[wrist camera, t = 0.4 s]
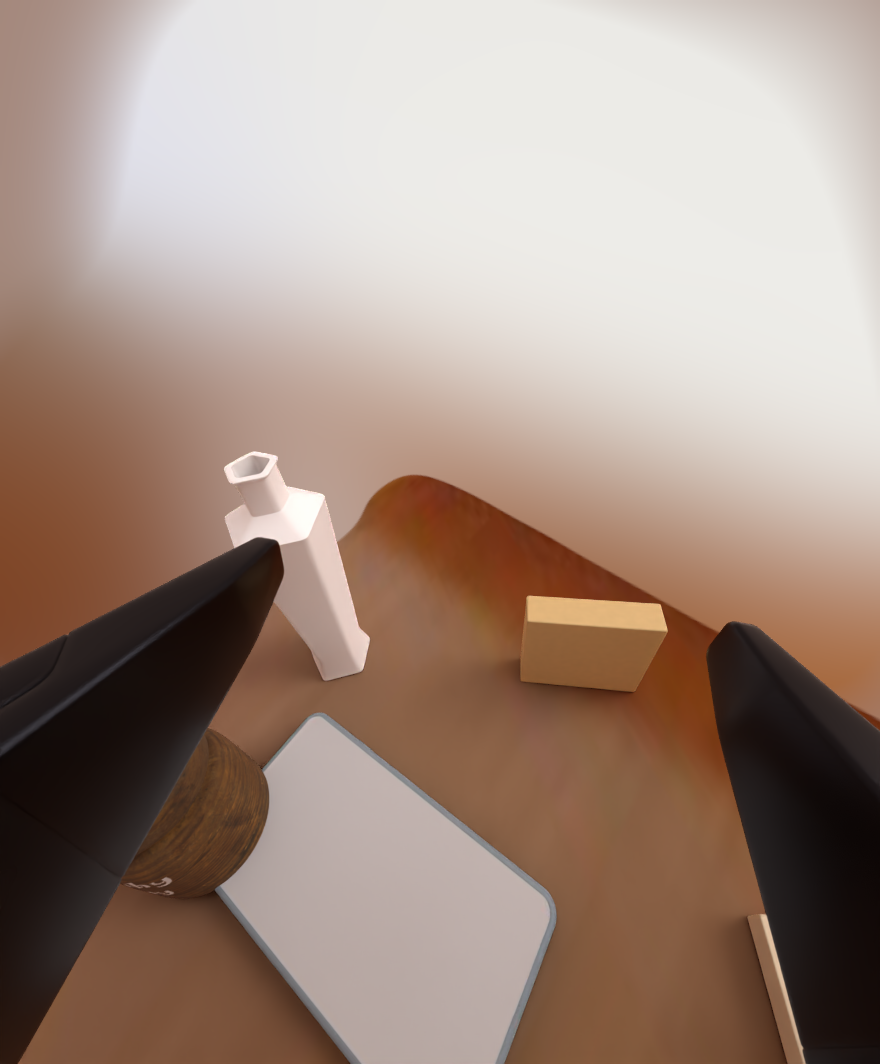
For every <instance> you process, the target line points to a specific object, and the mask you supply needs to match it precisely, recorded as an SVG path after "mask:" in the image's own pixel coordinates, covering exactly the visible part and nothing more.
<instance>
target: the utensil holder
mask: <svg viewBox="0 0 880 1064" xmlns="http://www.w3.org/2000/svg"><path fill="white" fill-rule="evenodd" d="M268 810H269V788H268V783H267V780H266V777H265V775H264V773H263V771H262V770H261V768H260V767H259V766H258V765H257V764H256V763H255V762H254V761H253V760H252V759H251V758H250V757H249V756H248V755H247V754H245V753H244V752H243V751H242V750H241V749H239V748H238V747H237V746H236V745H235V744H233V743H232V742H231V741H230V740H228V739H227V738H226V737H224V736H223V735H221V734H220V733H218V732H216V731H214V730H212V729H209V728H207V730H206V732H205V733H204V735H203V737H202V739H201V740H200V742H199V744H198V746H197V747H196V749H195V751H194V753H193V755H192V756H191V758H190V760H189V762H188V763H187V765H186V767H185V769H184V770H183V772H182V774H181V776H180V778H179V779H178V781H177V783H176V785H175V786H174V788H173V790H172V792H171V793H170V795H169V797H168V799H167V801H166V802H165V804H164V806H163V808H162V809H161V811H160V813H159V815H158V816H157V818H156V820H155V822H154V824H153V825H152V827H151V829H150V831H149V832H148V834H147V836H146V838H145V839H144V841H143V843H142V845H141V847H140V848H139V850H138V852H137V854H136V855H135V857H134V859H133V861H132V862H131V864H130V866H129V868H128V869H127V871H126V873H125V875H124V876H123V877H122V878H121V883H120V884H123V885H125V886H128V887H131V888H135V889H138V890H142V891H145V892H149V893H153V894H156V895H160V896H165V897H170V898H178V899H185V898H195V897H199V896H202V895H205V894H208V893H210V892H212V891H214V890H215V889H216V888H217V887H218V886H220V885H221V884H223V883H224V882H226V881H227V880H228V879H229V878H230V877H231V876H233V875H234V874H235V873H236V872H237V871H238V870H239V869H240V867H241V866H242V865H243V864H244V863H245V861H246V860H247V859H248V858H249V856H250V855H251V853H252V852H253V850H254V848H255V847H256V845H257V843H258V841H259V839H260V837H261V835H262V832H263V830H264V827H265V824H266V820H267V816H268Z"/></svg>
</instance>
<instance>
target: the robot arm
mask: <svg viewBox="0 0 880 1064" xmlns="http://www.w3.org/2000/svg"><path fill="white" fill-rule="evenodd" d="M283 576H284V565H283V560H282V555H281V550H280V545H279V543H278V541H276V540H274V539H269V538H263V537H256V538H254V539H252V540H250V541H248V542H246V543H244V544H242V545H240V546H238V547H236V548H234V549H232V550H230V551H228V552H226V553H224V554H222V555H220V556H218V557H216V558H214V559H213V560H210V561H208V562H207V563H205V564H203V565H201V566H199V567H197V568H195V569H193V570H191V571H189V572H187V573H185V574H183V575H181V576H179V577H177V578H175V579H173V580H171V581H169V582H168V583H165V584H164V585H161V586H159V587H157V588H155V589H153V590H151V591H150V592H148V593H146V594H144V595H142V596H140V597H138V598H136V599H134V600H132V601H130V602H128V603H126V604H124V605H122V606H120V607H118V608H117V609H114V610H112V611H111V612H108V613H106V614H104V615H102V616H100V617H98V618H97V619H95V620H93V621H91V622H89V623H87V624H85V625H83V626H81V627H79V628H77V629H75V630H73V631H71V632H70V633H69V635H63V636H61V637H59V638H57V639H55V640H53V641H51V642H49V643H47V644H46V645H43V646H41V647H39V648H37V649H35V650H33V651H31V652H29V653H27V654H25V655H23V656H21V657H19V658H17V659H15V660H13V661H11V662H9V663H7V664H5V665H3V666H1V667H0V1064H18V1062H19V1061H20V1059H21V1057H22V1056H23V1054H24V1052H25V1051H26V1049H27V1047H28V1045H29V1043H30V1042H31V1040H32V1038H33V1036H34V1035H35V1033H36V1031H37V1029H38V1028H39V1026H40V1024H41V1022H42V1020H43V1019H44V1017H45V1015H46V1013H47V1012H48V1010H49V1008H50V1006H51V1005H52V1003H53V1001H54V999H55V997H56V996H57V994H58V992H59V990H60V989H61V987H62V985H63V983H64V982H65V980H66V978H67V976H68V974H69V973H70V971H71V969H72V967H73V966H74V964H75V962H76V960H77V959H78V957H79V955H80V953H81V951H82V950H83V948H84V946H85V944H86V943H87V941H88V939H89V937H90V936H91V934H92V932H93V930H94V929H95V927H96V925H97V923H98V921H99V920H100V918H101V916H102V914H103V913H104V911H105V909H106V907H107V906H108V904H109V902H110V900H111V898H112V897H113V895H114V893H115V891H116V890H117V888H118V886H119V884H120V883H121V878H122V877H123V876H124V875H125V873H126V871H127V869H128V868H129V866H130V864H131V862H132V861H133V859H134V857H135V855H136V854H137V852H138V850H139V848H140V847H141V845H142V843H143V841H144V839H145V838H146V836H147V834H148V832H149V831H150V829H151V827H152V825H153V824H154V822H155V820H156V818H157V816H158V815H159V813H160V811H161V809H162V808H163V806H164V804H165V802H166V801H167V799H168V797H169V795H170V793H171V792H172V790H173V788H174V786H175V785H176V783H177V781H178V779H179V778H180V776H181V774H182V772H183V770H184V769H185V767H186V765H187V763H188V762H189V760H190V758H191V756H192V755H193V753H194V751H195V749H196V747H197V746H198V744H199V742H200V740H201V739H202V737H203V735H204V733H205V732H206V730H207V728H208V726H209V724H210V723H211V721H212V719H213V717H214V716H215V714H216V712H217V710H218V709H219V707H220V705H221V703H222V701H223V700H224V698H225V696H226V694H227V693H228V691H229V689H230V687H231V686H232V684H233V682H234V680H235V678H236V677H237V675H238V673H239V671H240V670H241V668H242V666H243V664H244V663H245V661H246V659H247V657H248V655H249V654H250V652H251V650H252V648H253V646H254V644H255V642H256V640H257V638H258V636H259V634H260V632H261V629H262V627H263V625H264V622H265V620H266V618H267V615H268V613H269V610H270V608H271V606H272V603H273V601H274V599H275V596H276V594H277V592H278V589H279V587H280V585H281V582H282V580H283ZM707 665H708V672H709V679H710V685H711V692H712V698H713V705H714V712H715V718H716V724H717V730H718V735H719V739H720V743H721V747H722V751H723V755H724V758H725V762H726V766H727V770H728V773H729V777H730V781H731V785H732V788H733V792H734V796H735V800H736V803H737V807H738V811H739V815H740V818H741V822H742V826H743V830H744V833H745V837H746V841H747V845H748V848H749V852H750V856H751V860H752V863H753V867H754V871H755V875H756V878H757V882H758V886H759V890H760V893H761V897H762V901H763V905H764V908H765V912H766V916H767V920H768V923H769V927H770V931H771V934H772V938H773V942H774V946H775V949H776V953H777V957H778V961H779V964H780V968H781V972H782V976H783V979H784V983H785V987H786V991H787V994H788V998H789V1002H790V1006H791V1009H792V1013H793V1017H794V1021H795V1024H796V1028H797V1032H798V1036H799V1039H800V1043H801V1045H802V1047H803V1049H802V1052H803V1056H804V1060H805V1063H806V1064H880V731H879V730H878V729H877V728H876V727H874V726H873V725H872V724H871V723H870V722H869V721H867V720H866V719H865V718H864V717H863V716H862V715H860V714H859V713H858V712H857V711H856V710H854V709H853V708H852V707H851V706H850V705H849V704H847V703H846V702H845V701H844V700H843V699H842V698H840V697H839V696H838V695H837V694H835V693H834V692H833V691H832V690H831V689H830V688H828V687H827V686H826V685H825V684H824V683H823V682H822V681H820V680H819V679H818V678H817V677H816V676H815V675H813V674H812V673H811V672H810V671H809V670H808V669H806V668H805V667H804V666H803V665H802V664H800V663H799V662H798V661H797V660H796V659H795V658H793V657H792V656H791V655H790V654H789V653H788V652H786V651H785V650H784V649H783V648H782V647H781V646H779V645H778V644H777V643H776V642H775V641H773V640H772V639H771V638H770V637H769V636H768V635H766V634H765V633H764V632H763V631H762V630H761V629H759V628H758V627H757V626H754V625H752V624H746V623H741V622H730V623H727V624H726V625H725V626H724V628H723V629H722V630H721V632H720V633H719V634H718V635H717V637H716V638H715V639H714V640H713V642H712V643H711V644H710V646H709V647H708V650H707Z"/></svg>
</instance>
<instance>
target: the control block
mask: <svg viewBox="0 0 880 1064" xmlns="http://www.w3.org/2000/svg"><path fill="white" fill-rule="evenodd" d="M747 918H748V921H749V925H750V929H751V932H752V936H753V939H754V943H755V947H756V950H757V954H758V958H759V961H760V965H761V969H762V972H763V976H764V979H765V983H766V987H767V990H768V994H769V998H770V1001H771V1005H772V1009H773V1012H774V1016H775V1019H776V1023H777V1027H778V1030H779V1034H780V1038H781V1041H782V1045H783V1049H784V1052H785V1056H786V1059H787V1063H788V1064H806V1063H805V1060H804V1056H803V1052H802V1049H803V1047H802V1045H801V1043H800V1039H799V1036H798V1032H797V1028H796V1024H795V1021H794V1017H793V1013H792V1009H791V1006H790V1002H789V998H788V994H787V991H786V987H785V983H784V979H783V976H782V972H781V968H780V964H779V961H778V957H777V953H776V949H775V946H774V942H773V938H772V934H771V931H770V927H769V923H768V920H767V916H766V915H764V914H757V915H750V916H747Z"/></svg>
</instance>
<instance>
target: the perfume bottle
mask: <svg viewBox="0 0 880 1064" xmlns="http://www.w3.org/2000/svg"><path fill="white" fill-rule="evenodd" d="M277 459H278V458H277V456H275V455H271V454H266V453H260V452H250V453H248V454H246V455H244V456H243V457H241V458H239V459H237V460H236V461H233V462H232V463H230V464H228V465H226V466H225V468H224V471H225V474H226V476H227V479H228V481H229V482H230V483H231V484H234V485H235V487H236V489H237V490H238V492H239V494H240V496H241V498H242V500H243V502H244V504H243V505H241V506H240V507H238V508H236V509H235V510H234V511H232V512H230V513H229V514H227V515H226V516H225V522H226V525H227V527H228V530H229V533H230V536H231V539H232V542H233V545H234V548H236V547H238V546H240V545H242V544H244V543H246V542H248V541H250V540H252V539H254V538H256V537H263V538H269V539H274V540H276V541H278V543H279V545H280V550H281V555H282V560H283V565H284V576H283V580H282V582H281V585H280V587H279V589H278V592H277V594H276V596H275V599H274V602H275V603H276V605H277V606H278V607H279V609H280V610H281V611H282V613H283V614H284V615H285V617H286V618H287V619H288V621H289V622H290V623H291V625H292V626H293V627H294V629H295V630H296V631H297V633H298V634H299V635H300V636H301V638H302V639H303V640H304V642H305V643H306V644H307V646H308V647H309V648H310V650H311V651H312V656H313V658H314V660H315V663H316V665H317V667H318V669H319V672H320V674H321V676H322V679H323V680H325V681H328V680H332V679H336V678H340V677H344V676H347V675H351V674H355V673H359V672H361V671H362V670H363V668H364V664H365V660H366V655H367V651H368V646H369V642H370V638H369V636H368V635H367V634H365V633H364V632H363V631H362V630H361V629H360V628H359V625H358V621H357V618H356V614H355V610H354V606H353V602H352V599H351V595H350V591H349V587H348V583H347V580H346V576H345V572H344V568H343V564H342V561H341V557H340V553H339V549H338V545H337V542H336V538H335V534H334V530H333V526H332V523H331V519H330V515H329V511H328V507H327V504H326V500H325V496H324V495H323V494H319V493H315V492H311V491H306V490H301V489H297V488H293V487H288V486H286V485H285V483H284V481H283V479H282V477H281V474H280V472H279V469H278V467H277V465H276V462H277Z"/></svg>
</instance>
